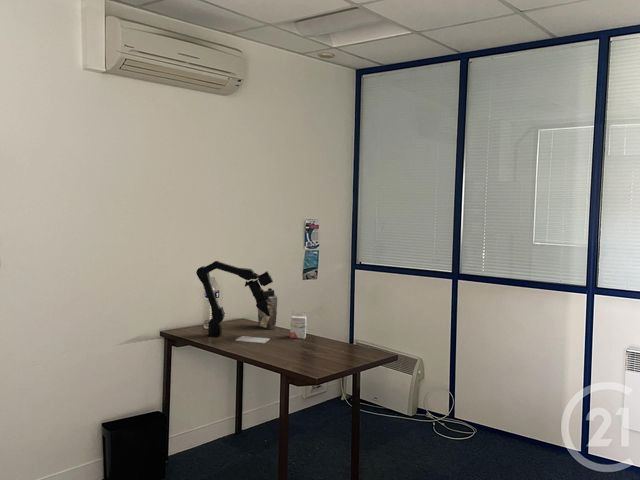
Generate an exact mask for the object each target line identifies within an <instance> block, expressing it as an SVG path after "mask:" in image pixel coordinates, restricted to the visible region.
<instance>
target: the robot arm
mask: <svg viewBox="0 0 640 480" xmlns="http://www.w3.org/2000/svg"><path fill="white" fill-rule="evenodd" d="M214 270H220V271H223V272H227V273H229V274H234V275H236V276H238V277H239V278H242V279H244V280H245V284H244V287H245V288H246V287H248V288H249V290H250V292H251V294H252V297H253V298H254V300H255V303H256V304H255V306H256V309H257V310H258V309H260V310H261V311H262V312H263V313H265V314H266V315H267V316H270V314H269V311H268V307H267V306H268V302H269V300H268V301H267V299H269V298H268V297H274V296H275V295H276V294H275V290H274V289H272V288H271V287H268V289H267V290H264V289H263V287H266V286H268V285H270V284H272V283H274V281H273V278H272V276H271V274H270V273H269V271H268V270H266V271H264V272H263V273H261V274H257V272H254V270H253V269H252V268H245V267H237V266H234V265H231V264H227V263H224V262H222V261H221V262H220V261H219V260H214V261H213V262H211V263H210V264H208V265H206V266H203V265H202V266H200V267H198V268H197V269H196V276H197V278H198V280H199V281H200V282H201V284H202V285H203V288H204V290H205V291H204V292H205V294H206V296H207V299H208V302H209V305H210V309H211V317H212V318H211V319H210V320H209V321H208V325H207V328H208V329H207V330H208V331H207V332H208V333H207V334H206V337H214V338H219V337H222V335H223V333H222V332H223V331H222V330H223V328H222V324H221V322H223V321H224V319H225V314H226V312H225V311H224V307H223V306H221V307H220V305H219V302H218V300H217V297H216V294H215V292H214V289H213V287H212V283H211V279H210V278H211V276H210V272H212V271H214ZM261 286H262V287H261Z"/></svg>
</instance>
